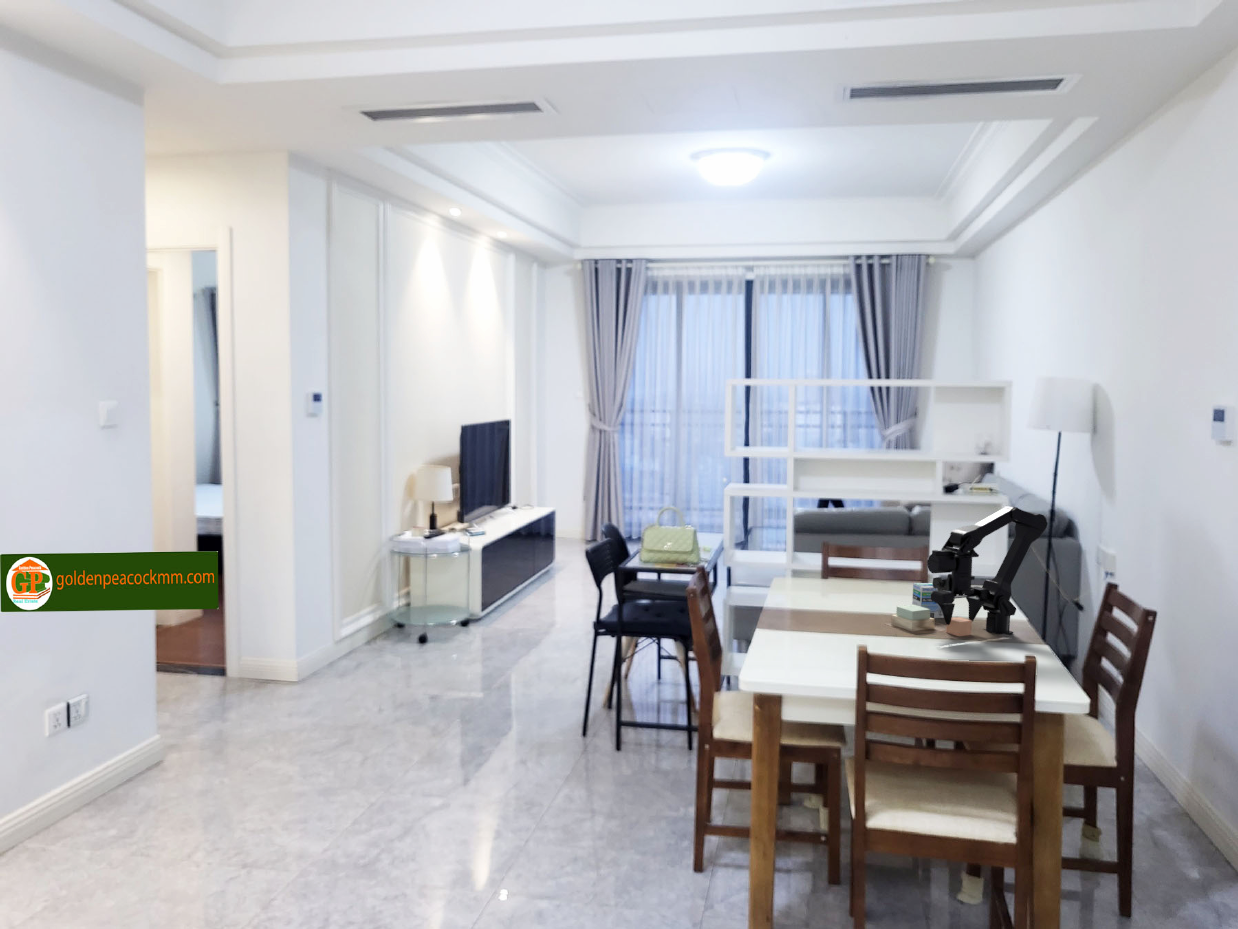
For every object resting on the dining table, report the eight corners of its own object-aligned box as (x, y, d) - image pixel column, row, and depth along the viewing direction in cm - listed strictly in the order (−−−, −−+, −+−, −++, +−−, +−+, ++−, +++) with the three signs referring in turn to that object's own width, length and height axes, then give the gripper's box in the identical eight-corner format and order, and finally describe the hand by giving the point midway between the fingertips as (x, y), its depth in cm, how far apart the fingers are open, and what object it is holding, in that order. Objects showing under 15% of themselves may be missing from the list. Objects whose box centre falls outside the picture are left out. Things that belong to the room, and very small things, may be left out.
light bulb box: (920, 620, 309) (921, 587, 308) (910, 615, 316) (912, 582, 315) (951, 619, 311) (952, 586, 310) (941, 614, 317) (942, 582, 317)
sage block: (913, 613, 303) (914, 604, 302) (929, 618, 296) (930, 609, 296) (896, 615, 300) (896, 606, 299) (912, 620, 293) (912, 611, 293)
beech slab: (913, 621, 304) (913, 612, 304) (934, 628, 296) (934, 618, 296) (891, 624, 300) (891, 615, 300) (911, 631, 292) (911, 621, 292)
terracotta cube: (958, 633, 294) (959, 616, 293) (971, 637, 289) (971, 620, 289) (946, 634, 292) (946, 618, 291) (958, 638, 287) (959, 622, 287)
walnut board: (925, 620, 308) (925, 619, 308) (958, 631, 296) (958, 629, 296) (884, 625, 301) (884, 623, 301) (915, 636, 288) (915, 634, 288)
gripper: (964, 565, 300) (962, 614, 302) (918, 569, 292) (916, 620, 293) (992, 571, 290) (990, 622, 291) (945, 576, 282) (943, 628, 283)
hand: (959, 623), depth 290 cm, fingers open, 9 cm apart
